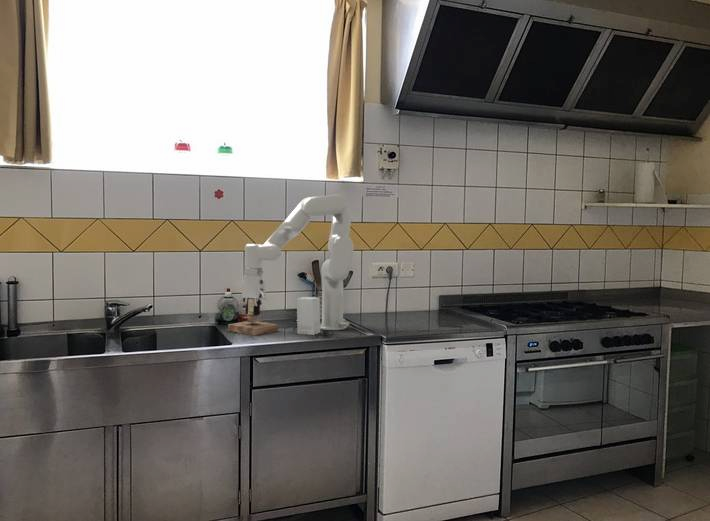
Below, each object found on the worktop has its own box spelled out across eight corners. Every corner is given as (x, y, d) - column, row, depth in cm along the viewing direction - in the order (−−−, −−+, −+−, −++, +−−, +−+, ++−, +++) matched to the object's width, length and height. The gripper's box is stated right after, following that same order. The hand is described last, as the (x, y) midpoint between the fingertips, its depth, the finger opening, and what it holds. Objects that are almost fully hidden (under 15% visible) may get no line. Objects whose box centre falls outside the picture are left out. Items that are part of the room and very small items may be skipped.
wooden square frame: (277, 331, 262) (277, 324, 261) (255, 335, 250) (255, 328, 250) (251, 327, 271) (251, 320, 271) (228, 331, 259) (228, 324, 259)
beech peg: (259, 321, 261) (259, 298, 260) (252, 322, 257) (252, 299, 256) (252, 320, 263) (252, 298, 262) (245, 321, 260) (245, 298, 259)
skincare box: (320, 333, 258) (321, 297, 257) (313, 335, 252) (313, 299, 251) (303, 331, 262) (304, 296, 261) (296, 334, 256) (296, 297, 255)
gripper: (273, 273, 257) (272, 315, 258) (245, 270, 267) (245, 311, 268) (261, 274, 251) (260, 317, 252) (233, 271, 260) (232, 313, 262)
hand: (252, 313), depth 260 cm, fingers closed on beech peg, 4 cm apart
